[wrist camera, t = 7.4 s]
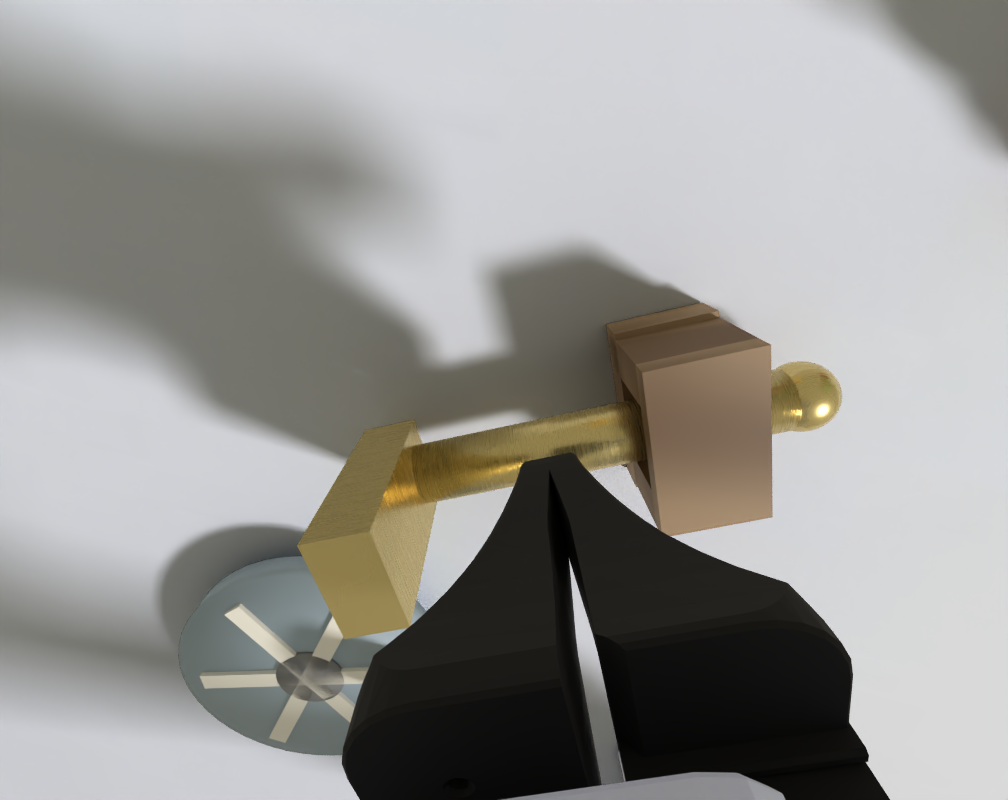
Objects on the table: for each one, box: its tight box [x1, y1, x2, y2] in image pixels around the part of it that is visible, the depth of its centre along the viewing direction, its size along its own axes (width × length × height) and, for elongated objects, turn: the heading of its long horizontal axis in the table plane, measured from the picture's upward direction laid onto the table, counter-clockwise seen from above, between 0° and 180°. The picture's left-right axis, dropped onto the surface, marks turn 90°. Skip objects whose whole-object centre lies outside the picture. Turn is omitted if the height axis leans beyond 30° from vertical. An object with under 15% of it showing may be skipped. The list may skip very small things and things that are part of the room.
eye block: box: [606, 303, 772, 536], centre depth 14 cm, size 5×3×4 cm, turn 13°
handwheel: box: [178, 556, 426, 755], centre depth 17 cm, size 10×10×5 cm
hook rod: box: [297, 361, 842, 639], centre depth 12 cm, size 3×14×5 cm, turn 103°
